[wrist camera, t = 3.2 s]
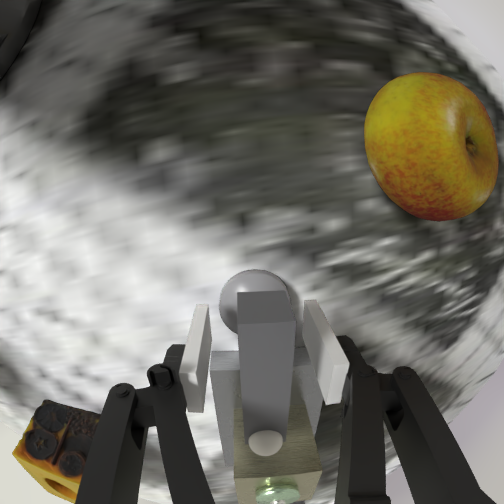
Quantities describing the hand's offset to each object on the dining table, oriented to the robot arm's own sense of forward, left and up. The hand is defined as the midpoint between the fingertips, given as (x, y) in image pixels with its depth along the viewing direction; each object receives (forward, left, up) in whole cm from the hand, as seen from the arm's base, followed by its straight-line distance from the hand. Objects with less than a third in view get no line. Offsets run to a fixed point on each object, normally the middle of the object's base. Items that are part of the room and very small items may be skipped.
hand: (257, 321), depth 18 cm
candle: (+19, -21, -3) cm, 28 cm away
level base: (+12, +1, -3) cm, 12 cm away
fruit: (-11, +11, -3) cm, 16 cm away
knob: (0, 0, -3) cm, 3 cm away
